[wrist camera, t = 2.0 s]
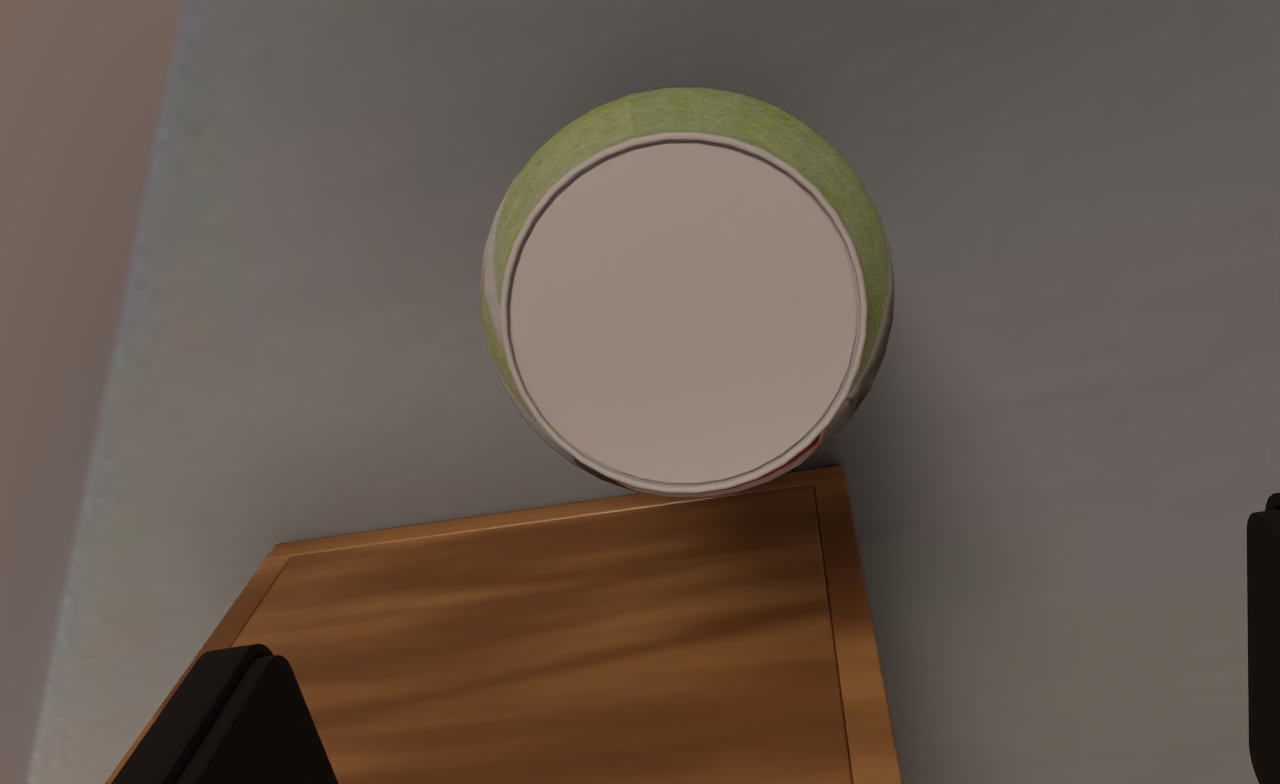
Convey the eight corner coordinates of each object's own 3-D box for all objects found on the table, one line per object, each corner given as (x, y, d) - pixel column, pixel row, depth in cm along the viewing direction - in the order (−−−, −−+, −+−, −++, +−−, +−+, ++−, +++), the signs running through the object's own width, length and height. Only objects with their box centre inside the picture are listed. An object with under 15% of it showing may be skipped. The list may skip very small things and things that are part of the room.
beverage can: (585, 342, 28) (485, 632, 17) (546, 33, 25) (395, 139, 14) (842, 326, 27) (913, 618, 16) (833, 6, 24) (913, 94, 13)
